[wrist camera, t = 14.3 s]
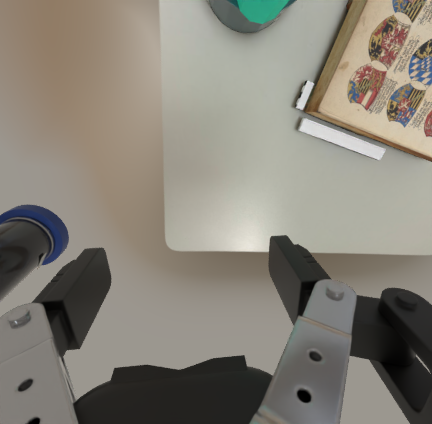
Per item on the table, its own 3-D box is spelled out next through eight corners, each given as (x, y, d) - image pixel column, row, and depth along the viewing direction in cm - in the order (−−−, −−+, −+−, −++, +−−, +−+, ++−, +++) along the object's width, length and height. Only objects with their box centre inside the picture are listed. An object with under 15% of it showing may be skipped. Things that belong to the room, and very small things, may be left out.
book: (283, 125, 43) (411, 173, 47) (296, 127, 37) (442, 182, 41) (354, -50, 34) (501, 30, 39) (386, -84, 28) (555, 15, 33)
